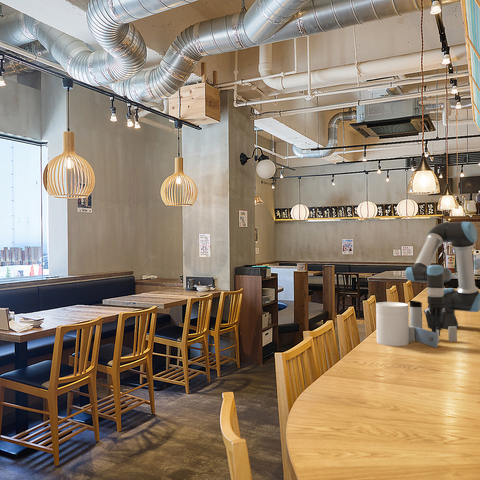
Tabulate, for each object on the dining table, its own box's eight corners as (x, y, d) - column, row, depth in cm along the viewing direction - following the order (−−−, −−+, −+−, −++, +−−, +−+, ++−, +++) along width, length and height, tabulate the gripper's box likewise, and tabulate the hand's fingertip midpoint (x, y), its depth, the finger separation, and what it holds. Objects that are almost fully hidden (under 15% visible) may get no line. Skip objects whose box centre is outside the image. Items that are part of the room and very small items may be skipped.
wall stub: (455, 340, 233) (455, 326, 233) (456, 341, 231) (456, 327, 231) (448, 340, 233) (448, 326, 233) (449, 341, 231) (449, 327, 231)
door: (437, 347, 218) (437, 332, 218) (433, 347, 217) (432, 333, 217) (416, 340, 235) (416, 326, 235) (411, 340, 234) (411, 326, 234)
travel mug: (407, 335, 246) (407, 299, 246) (418, 335, 247) (418, 299, 247) (412, 338, 240) (412, 301, 240) (424, 337, 241) (424, 301, 241)
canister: (413, 342, 231) (413, 303, 231) (401, 347, 220) (400, 307, 220) (384, 337, 242) (384, 301, 242) (371, 343, 230) (370, 304, 231)
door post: (412, 340, 235) (412, 326, 235) (414, 341, 232) (414, 327, 232) (406, 340, 236) (406, 326, 236) (408, 341, 233) (408, 327, 233)
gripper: (440, 294, 229) (441, 340, 229) (419, 295, 225) (420, 342, 225) (451, 296, 221) (452, 343, 221) (430, 297, 218) (430, 345, 218)
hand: (436, 342), depth 223 cm, fingers closed
